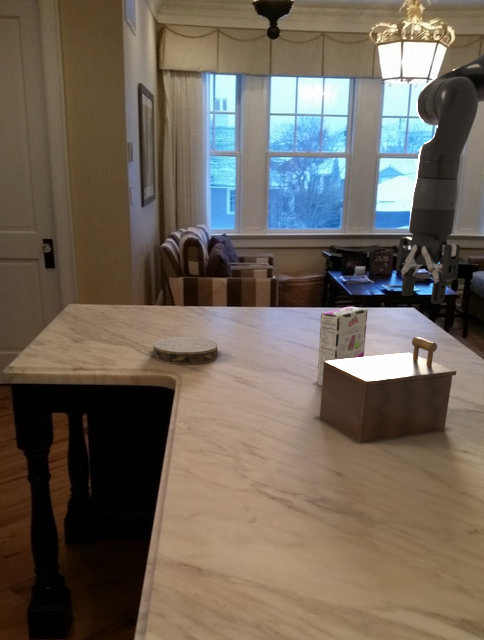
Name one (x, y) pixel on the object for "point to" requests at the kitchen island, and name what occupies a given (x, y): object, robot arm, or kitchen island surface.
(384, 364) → the lid
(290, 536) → the kitchen island surface
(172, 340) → the grey round disc
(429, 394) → the chest
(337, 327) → the candy bar box
